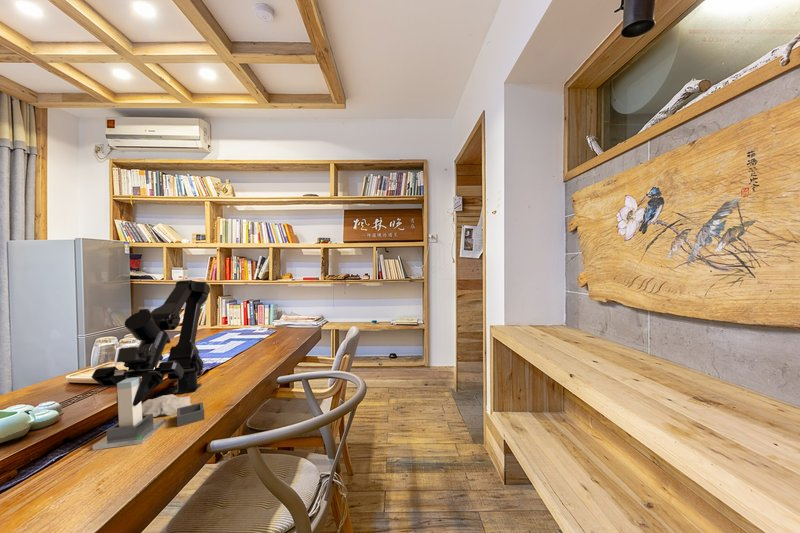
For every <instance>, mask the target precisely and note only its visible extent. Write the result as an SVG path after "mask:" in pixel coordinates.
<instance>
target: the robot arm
mask: <svg viewBox="0 0 800 533" xmlns="http://www.w3.org/2000/svg"><path fill="white" fill-rule="evenodd" d="M210 292H211V285H210V284H208V283H207V282H206V281H196V280H192V279H189V280H188V279H185V280H183V279H182V280H178V281H176V282H175V287H174V288H173V289H172V291H171V292H170V294H169V296H168V297H167V298H166V300H165V301H164V303H163V304H162V305H160V306H158V307H156V308H154V309H153V310H152V311H150V309H149V308H142V309H141V308H140V309H139V311H138V312H136V313H133V314H132V315H130V316H129V317H127V318H126V319H125V321H124V327H125V328H126V329H127V330H128V331H129V333H131V335H132V336H133V337H134V339H135V340H138V341H140V344H139V345H138V346H133V347H121V348H119V350H118V352H117V353H118V354H117V358H116V362H117V363H124V364H123V367H124V368H128V369H119V368H117V367H116V366H104V367H103V366H102V367H97V368H96V369H95V370H94V371H93V373H92V376H91V379H92V380H94V381H95V382H96V383H98V384H99V385H100V386H101V387H104V388H109V387H117V383H119V382H121V381H123V380H125V379H127V378H135V377H140V378H141V384H140V387H139V389H138V391H137V393H136V396H135V398H134V401H133V405H134V406H136V405H137V404H138V403H139V402H142V401H143V400H144V399H145V398H146V397H147V396H148V395H149V394H150V393H151V392H152V391H154V390H155V389H156V388H157V387H158V386H159V385H163V384H164V382H165V380H164V378H165V376H166V375H167V376H166V378H167V379H169V381H176V383H177V386H176V387H177V389H175V390H174V391H173V395H178V394H185V393H191V392H192V393H193V392H196V391H197V390H198V389H199V388H200V387H201V386H202V383H198V373H199V372H201V371H204V361H203V359H202V358H201V356H200V350H199V349H198V347H197V345H196V340H197V334H198V333H197V332H198V327H199V322H200V315H201V310H202V306H203V305H204V304H205V302H207V300H208V298H209V294H210ZM184 306H185V307H184ZM183 307H184V312H183V316H182V318H183V319H182V322H181V315H180V312H181V310H182V308H183ZM180 322H181V328H180V333H179V339H178V342H177V343H176V345H174V346H171V347H170V348H169V349H170V350H169V354H168V355H169V356H168V357H167V361H163V359H164V356H163V355H162V354H163V352H164V350H165V347H166V344H171V338H169V336H170V335H169V334H168V333H167V332H166V331H174V330H176V329H177V328H178V327H179V325H180ZM160 361H162V362H160ZM116 407H117V408H118V394H117V393H116Z"/></svg>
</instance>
